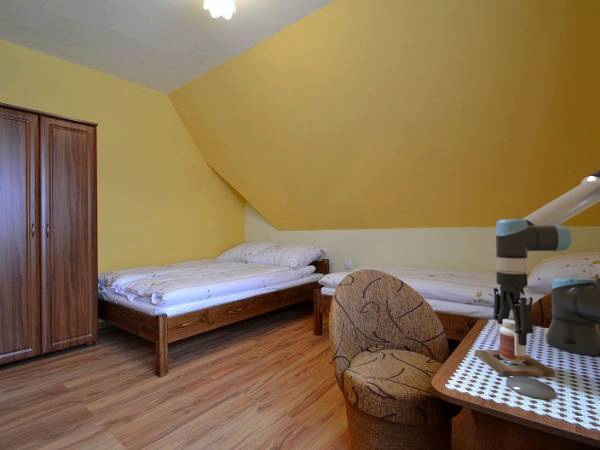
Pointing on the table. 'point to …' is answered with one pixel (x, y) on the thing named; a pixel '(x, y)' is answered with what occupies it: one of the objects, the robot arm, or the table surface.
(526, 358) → the wooden square frame
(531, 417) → the table surface
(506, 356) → the pill bottle
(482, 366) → the table surface
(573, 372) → the table surface
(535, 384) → the slate coaster
